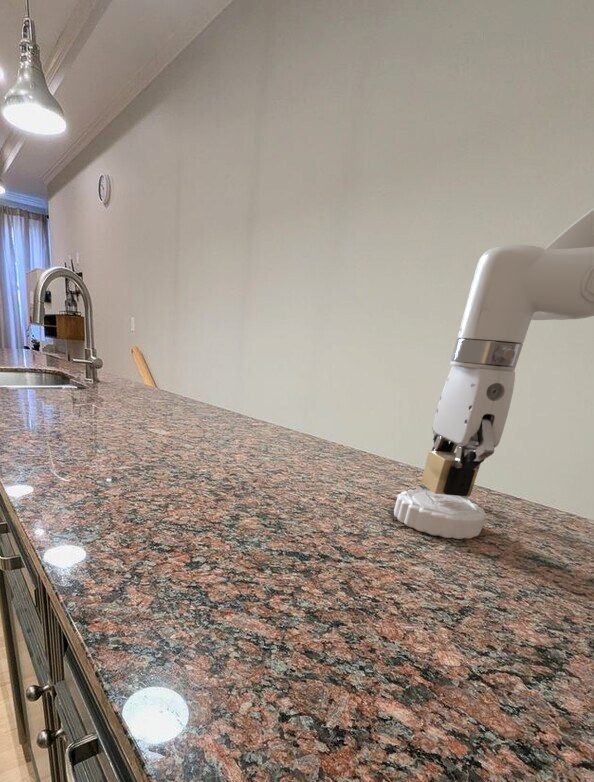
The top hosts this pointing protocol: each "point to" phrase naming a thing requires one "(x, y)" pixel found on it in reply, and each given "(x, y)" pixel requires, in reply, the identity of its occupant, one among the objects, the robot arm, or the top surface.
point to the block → (440, 471)
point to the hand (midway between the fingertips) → (445, 486)
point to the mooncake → (439, 514)
